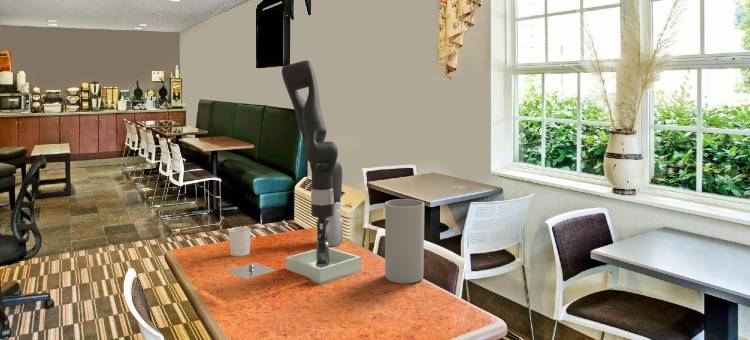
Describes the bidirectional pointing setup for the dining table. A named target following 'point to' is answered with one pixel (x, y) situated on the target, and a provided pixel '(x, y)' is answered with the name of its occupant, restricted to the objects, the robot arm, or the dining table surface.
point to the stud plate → (251, 270)
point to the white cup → (239, 241)
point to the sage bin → (338, 267)
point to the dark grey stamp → (322, 256)
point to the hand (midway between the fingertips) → (323, 248)
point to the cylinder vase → (404, 240)
